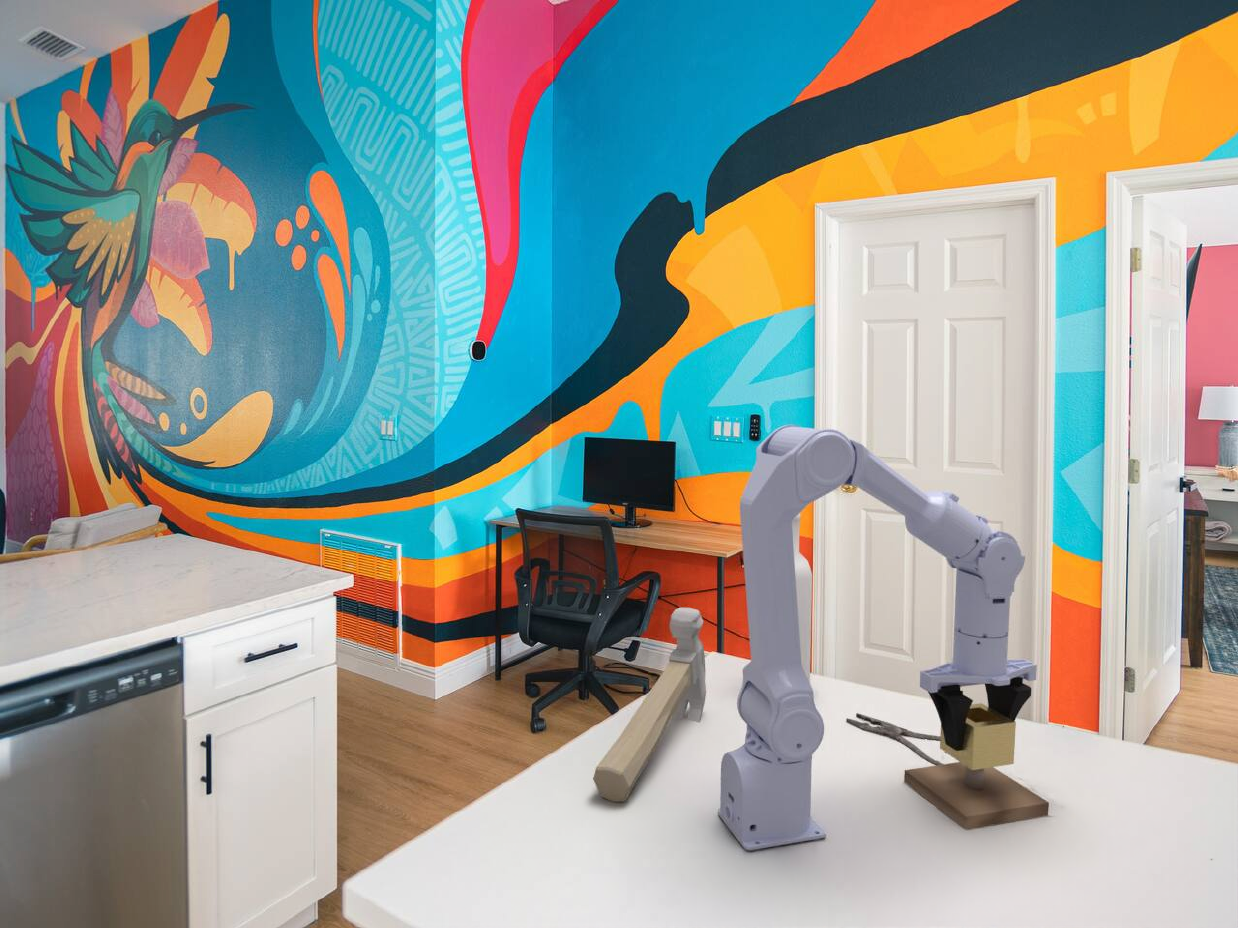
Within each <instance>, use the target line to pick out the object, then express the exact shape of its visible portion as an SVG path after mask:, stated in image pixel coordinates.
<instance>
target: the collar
mask: <svg viewBox="0 0 1238 928" xmlns="http://www.w3.org/2000/svg"><path fill="white" fill-rule="evenodd" d="M1016 724H1017V723H1016V720H1015V721H1013V720H1011V719H1009V718H1008V717H1006V716H1004V715H1002V714H1000V713H998V712H997V711H995V710H993V709H991V708H989V707H988V706H987V705H986V704H983V703H980V702H979V703H972V704H971V706H970V709H969V712H968V715H967V718H966V723H965V733H964V743H963V747H962V750H961V751H955V750H954V749H952V748H951V747H949V746H948V745H946V744H945V738H944V734H943V729H942V725H941V724H940V735H939V736H940V741H939V749H940V750H941V751H942V752H945V753H946V754H947V755H949V756H950V757H952V758H953V759H955V760H956V761H957V762H961V763H962V764H964V765H965V766H967V767H968V768H970V769H971V770H977V769H983V768H990V767H994V768H997V767H1002V766H1003V767H1004V766H1008V765H1009V766H1010V765H1014V764H1015V746H1016V744H1015V743H1016Z"/></svg>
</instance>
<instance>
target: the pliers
mask: <svg viewBox="0 0 1238 928" xmlns="http://www.w3.org/2000/svg"><path fill="white" fill-rule="evenodd" d="M855 716H856V718H858V719H860V720H862V721H865V722H862V721H861V722H860V721H858V720H855V719H853V718H852V719H851V718H848V717H847V718H846V720H845V722H846V723H847V724H849V725H851V726H854V727H855V728H857V729H859V730H861V731H864V732H867V733H871V734H875V735H879V736H882V737H886V738H888V739H890V740H893V741H895V742H898V743H900V744H901V745H903V746H905V748H906V747H907V748H908V749H909V750H911V751H912V752H913V753H915V755H917V756H919V757H920V758H922V759H924V761H926V762H928V763H930V764H932V765H933V766H936V765H943V764H944V763H942V762H940V761H938V760H935V759H934V758H932V757H931V756H929V755H928V754H926V753H925V752H924V751H922V750H921V749H920V748H919V747H918V746H917V745H915V744H914V743H912V742H911V741H910V740H908V739H906V738H905V737H907V738H913V739H918V740H925V739H927V741H934V740H935V741H937V742H940V735H933V734H925V733H920V732H915V731H911V730H909V729H907V728H904V727H901V726H897V725H895V724H894V723H890V722H888V721H884V720H880V719H877V718H874V717H871V716H868V715H865V714H861V713H858V712H857V713H856V714H855ZM867 722H868V723H867ZM869 723H870V724H871V725H870V724H869ZM872 725H873V726H872Z"/></svg>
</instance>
